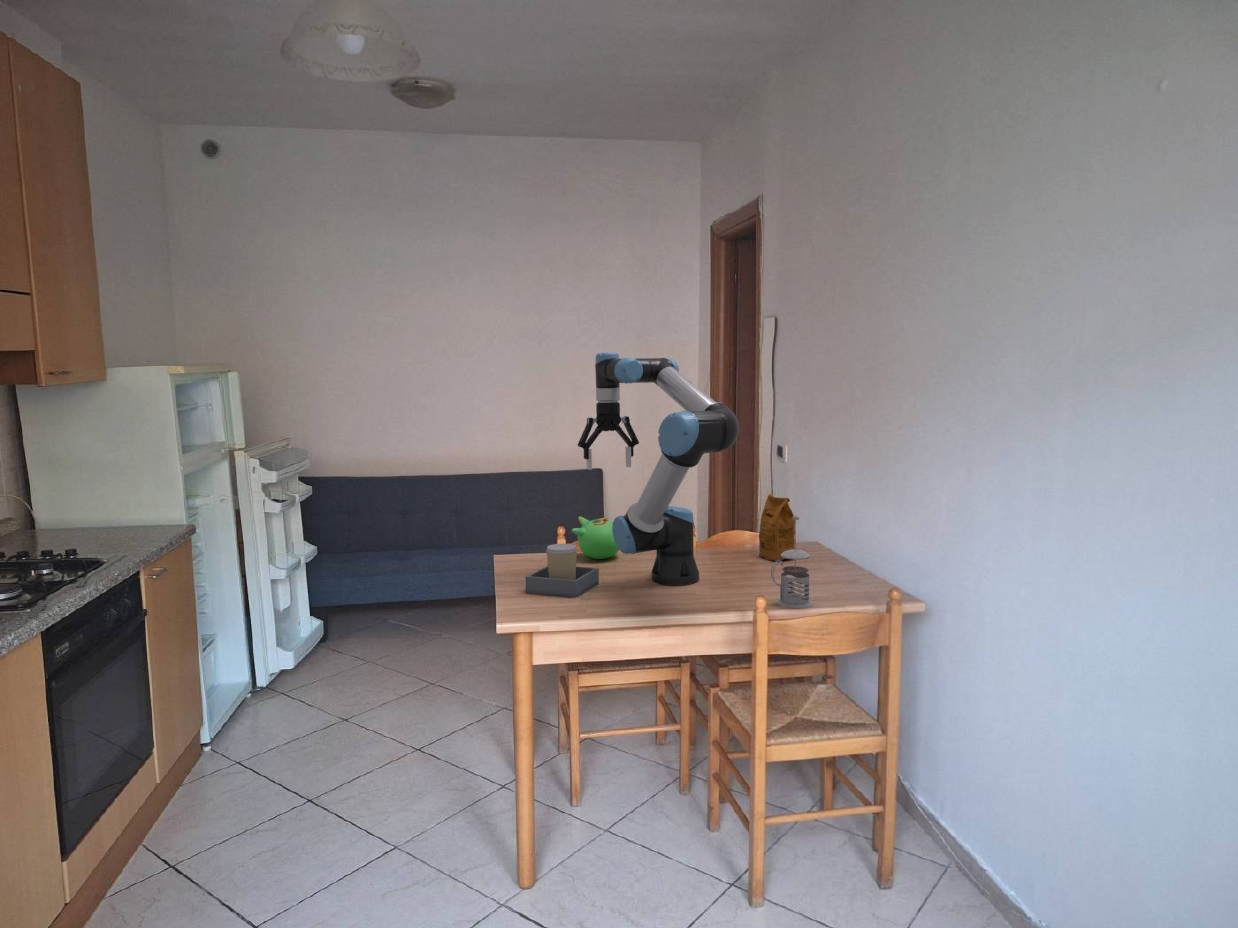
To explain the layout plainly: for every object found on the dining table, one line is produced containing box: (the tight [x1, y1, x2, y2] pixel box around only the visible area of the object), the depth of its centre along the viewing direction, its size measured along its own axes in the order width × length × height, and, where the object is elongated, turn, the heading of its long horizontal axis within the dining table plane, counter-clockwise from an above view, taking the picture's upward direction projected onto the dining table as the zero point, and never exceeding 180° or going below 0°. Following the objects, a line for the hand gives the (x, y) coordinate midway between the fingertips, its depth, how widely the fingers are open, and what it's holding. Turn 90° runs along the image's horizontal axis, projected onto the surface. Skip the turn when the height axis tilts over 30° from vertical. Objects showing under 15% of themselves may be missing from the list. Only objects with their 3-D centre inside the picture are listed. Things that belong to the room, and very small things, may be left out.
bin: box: [525, 565, 600, 598], centre depth 246 cm, size 17×17×5 cm
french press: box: [770, 514, 814, 609], centre depth 226 cm, size 10×12×25 cm
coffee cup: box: [545, 543, 578, 580], centre depth 245 cm, size 9×9×12 cm
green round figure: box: [571, 516, 620, 560], centre depth 285 cm, size 18×17×15 cm
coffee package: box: [758, 493, 795, 562], centre depth 281 cm, size 10×12×22 cm
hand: (609, 468), depth 259 cm, fingers open, 13 cm apart
